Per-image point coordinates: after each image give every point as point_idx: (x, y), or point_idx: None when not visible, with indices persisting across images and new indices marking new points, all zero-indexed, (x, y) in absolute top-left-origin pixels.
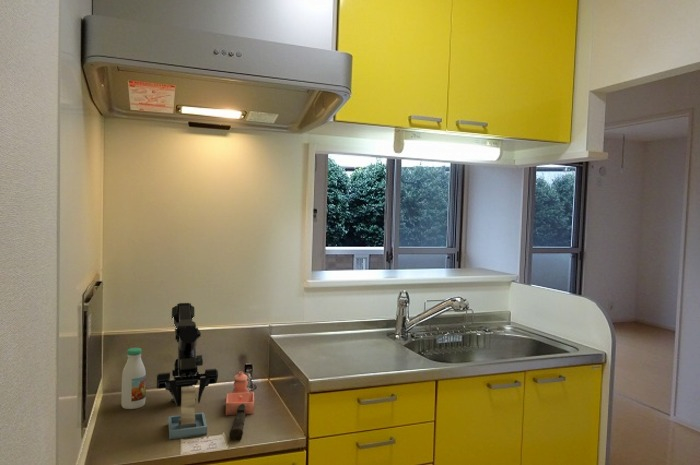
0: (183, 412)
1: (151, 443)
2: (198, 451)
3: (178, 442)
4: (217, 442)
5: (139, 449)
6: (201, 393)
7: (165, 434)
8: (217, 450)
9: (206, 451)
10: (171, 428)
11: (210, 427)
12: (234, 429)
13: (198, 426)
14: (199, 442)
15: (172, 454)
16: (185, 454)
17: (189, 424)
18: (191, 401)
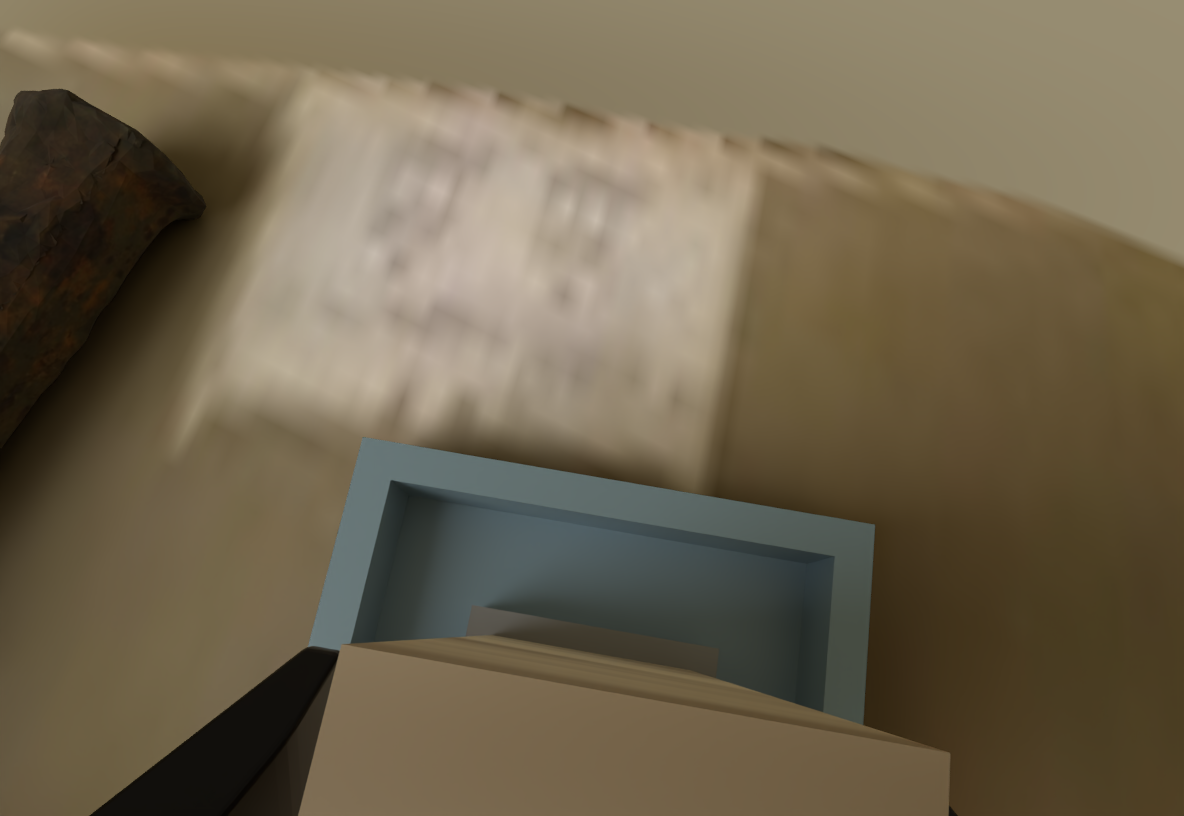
0: (691, 676)
1: (1037, 536)
2: (588, 145)
3: (742, 420)
4: (351, 231)
5: (1161, 450)
6: (114, 804)
7: (865, 713)
8: (413, 84)
9: (516, 112)
10: (838, 612)
11: (273, 651)
12: (99, 110)
13: None
14: (527, 316)
15: (836, 199)
16: (717, 146)
17: (572, 623)
18: (529, 657)
